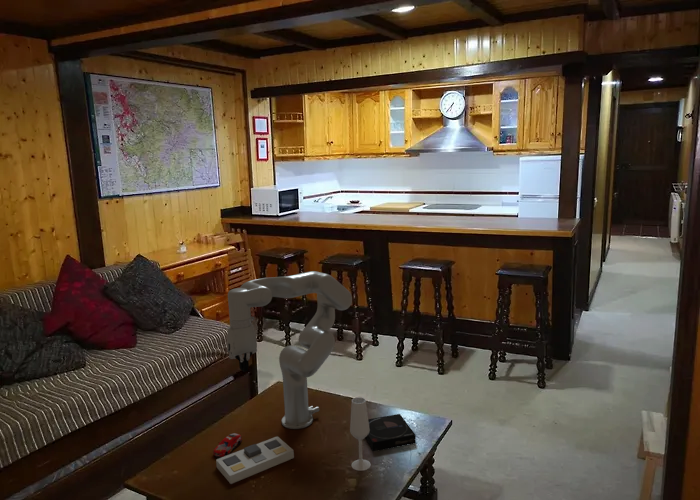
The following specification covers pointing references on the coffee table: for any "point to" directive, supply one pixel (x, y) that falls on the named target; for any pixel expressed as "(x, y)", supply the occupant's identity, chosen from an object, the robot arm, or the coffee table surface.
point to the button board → (255, 461)
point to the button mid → (252, 450)
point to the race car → (227, 445)
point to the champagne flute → (359, 429)
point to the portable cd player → (389, 432)
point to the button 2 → (272, 444)
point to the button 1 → (231, 460)
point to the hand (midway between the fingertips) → (244, 370)
